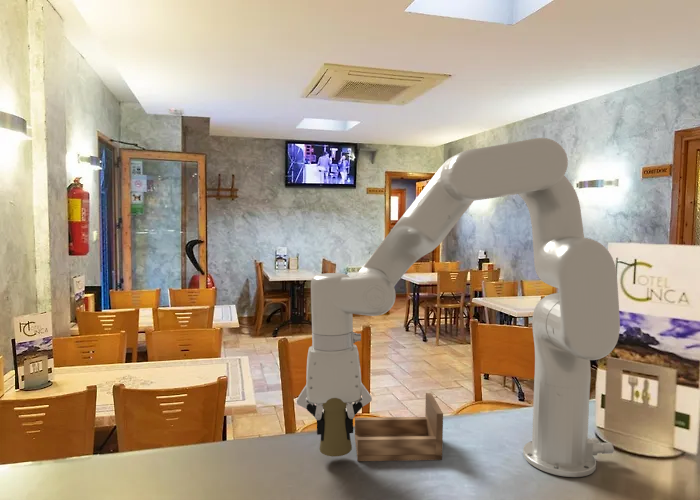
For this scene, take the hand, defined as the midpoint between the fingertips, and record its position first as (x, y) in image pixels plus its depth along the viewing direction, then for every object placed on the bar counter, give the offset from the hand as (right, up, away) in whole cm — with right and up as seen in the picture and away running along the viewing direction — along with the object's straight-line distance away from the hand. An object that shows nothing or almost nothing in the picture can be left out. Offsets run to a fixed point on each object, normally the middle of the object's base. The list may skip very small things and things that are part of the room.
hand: (335, 436), depth 90 cm
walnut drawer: (+12, -4, +6) cm, 14 cm away
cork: (0, -3, 0) cm, 3 cm away
